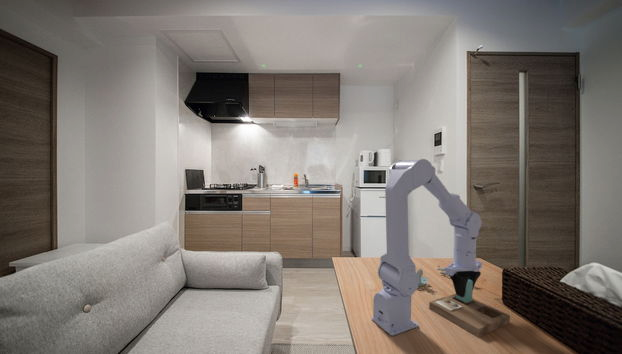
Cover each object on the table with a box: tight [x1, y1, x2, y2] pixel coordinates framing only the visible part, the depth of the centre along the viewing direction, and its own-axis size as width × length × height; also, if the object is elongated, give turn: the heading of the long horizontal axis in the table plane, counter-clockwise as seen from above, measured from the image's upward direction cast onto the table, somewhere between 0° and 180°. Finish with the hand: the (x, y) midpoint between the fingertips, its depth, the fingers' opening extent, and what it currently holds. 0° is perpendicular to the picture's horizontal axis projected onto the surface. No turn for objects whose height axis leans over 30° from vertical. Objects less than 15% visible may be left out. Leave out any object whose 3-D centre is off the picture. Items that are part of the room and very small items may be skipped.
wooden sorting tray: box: [428, 293, 511, 338], centre depth 70 cm, size 14×14×2 cm
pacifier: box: [416, 268, 429, 288], centre depth 89 cm, size 7×6×6 cm
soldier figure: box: [436, 265, 447, 275], centre depth 94 cm, size 8×5×12 cm
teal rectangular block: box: [456, 280, 474, 304], centre depth 74 cm, size 3×3×6 cm
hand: (463, 294), depth 74 cm, fingers closed on teal rectangular block, 3 cm apart
